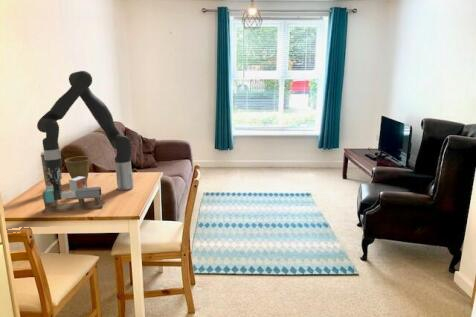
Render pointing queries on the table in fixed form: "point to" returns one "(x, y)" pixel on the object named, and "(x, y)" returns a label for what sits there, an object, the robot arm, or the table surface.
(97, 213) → the table surface
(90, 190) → the sleeve
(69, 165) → the plant pot
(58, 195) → the grey block with post
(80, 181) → the small box
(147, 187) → the table surface
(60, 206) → the rig base
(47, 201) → the socket
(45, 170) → the paper tube
